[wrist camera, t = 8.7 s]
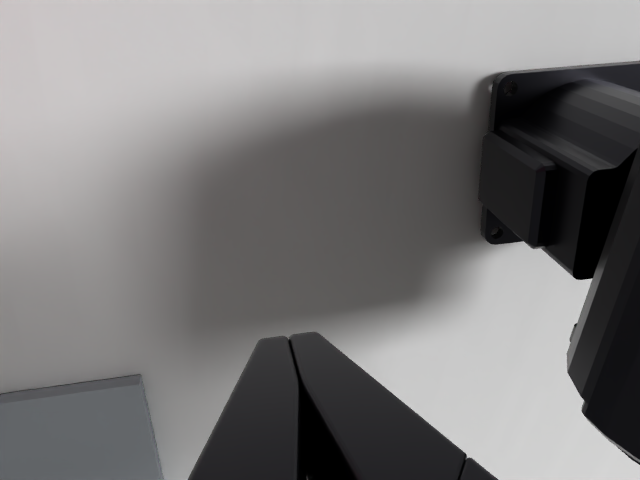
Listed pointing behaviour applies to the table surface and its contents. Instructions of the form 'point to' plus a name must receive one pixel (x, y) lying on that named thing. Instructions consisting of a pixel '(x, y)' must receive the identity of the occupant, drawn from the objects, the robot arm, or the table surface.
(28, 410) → the mat
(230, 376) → the table surface
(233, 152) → the table surface
